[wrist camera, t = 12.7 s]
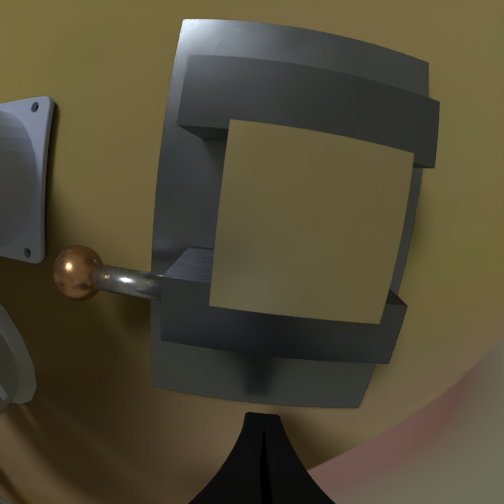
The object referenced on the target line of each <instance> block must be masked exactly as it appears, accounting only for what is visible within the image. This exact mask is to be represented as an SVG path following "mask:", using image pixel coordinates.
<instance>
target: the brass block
mask: <svg viewBox="0 0 504 504" xmlns="http://www.w3.org/2000/svg"><path fill="white" fill-rule="evenodd" d="M413 159H414V153H411V152H407V151H403V150H399V149H396V148H392V147H388V146H384V145H380V144H376V143H371V142H367V141H363V140H358V139H354V138H349V137H344V136H339V135H334V134H329V133H324V132H318V131H313V130H307V129H301V128H294V127H288V126H281V125H274V124H267V123H259V122H250V121H241V120H232V119H230V124H229V131H228V138H227V146H226V154H225V161H224V169H223V178H222V186H221V194H220V203H219V212H218V221H217V230H216V239H215V249H214V259H213V269H212V280H211V290H210V302H209V306H215V307H222V308H229V309H237V310H244V311H252V312H260V313H268V314H277V315H286V316H295V317H304V318H314V319H324V320H335V321H347V322H359V323H372V324H380V320H381V317H382V313H383V310H384V306H385V303H386V299H387V295H388V292H389V288H390V284H391V280H392V276H393V272H394V267H395V263H396V259H397V254H398V250H399V245H400V240H401V235H402V230H403V225H404V219H405V214H406V208H407V202H408V196H409V189H410V183H411V175H412V168H413Z"/></svg>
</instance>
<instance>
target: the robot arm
mask: <svg viewBox="0 0 504 504" xmlns="http://www.w3.org/2000/svg"><path fill="white" fill-rule="evenodd" d="M38 104H39V107H38V110H37V111H36V107H37V105H38ZM53 109H54V101H53V99H52V98H51V97H47V96H42V97H35V98H29V99H23V100H18V101H12V102H7V103H2V104H0V256H3V257H7V258H11V259H16V260H20V261H25V262H29V263H34V264H38V263H40V262H42V261H43V260H44V258H45V226H44V215H45V183H46V168H47V156H48V146H49V137H50V130H51V122H52V116H53ZM28 248H29V250H30V252H31V255H30V254H29V252H28ZM188 504H335V503H334V502H333V501H332V500H331V499H330V498H329V497H328V496H327V495H326V494H325V493H324V492H323V491H322V490H321V489H320V487H319V486H318V485H317V484H316V483H315V481H314V480H313V479H312V478H311V476H310V475H309V474H308V472H307V471H306V469H305V468H304V466H303V465H302V463H301V462H300V460H299V458H298V457H297V455H296V453H295V451H294V449H293V447H292V446H291V444H290V442H289V439H288V437H287V435H286V433H285V430H284V428H283V425H282V423H281V420H280V417H279V416H278V415H273V414H263V413H254V412H247V413H245V418H244V423H243V427H242V430H241V433H240V435H239V437H238V439H237V441H236V444H235V446H234V447H233V449H232V451H231V453H230V454H229V456H228V458H227V459H226V461H225V462H224V464H223V465H222V467H221V468H220V470H219V471H218V472H217V474H216V475H215V476H214V477H213V479H212V480H211V481H210V482H209V483H208V484H207V486H206V487H205V488H204V489H203V490H202V491H201V492H200V493H199V494H198V495H197V496H196V497H195V498H194V499H193V500H192V501H191V502H189V503H188Z"/></svg>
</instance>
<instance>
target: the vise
mask: <svg viewBox="0 0 504 504" xmlns="http://www.w3.org/2000/svg"><path fill="white" fill-rule="evenodd" d="M428 85H429V63H428V62H425V61H423V60H420V59H417V58H414V57H412V56H409V55H406V54H403V53H400V52H397V51H394V50H391V49H388V48H384V47H381V46H378V45H374V44H371V43H367V42H363V41H360V40H356V39H352V38H348V37H343V36H339V35H335V34H330V33H325V32H320V31H315V30H309V29H304V28H298V27H291V26H284V25H276V24H268V23H259V22H247V21H233V20H205V19H187V20H183V24H182V29H181V33H180V37H179V42H178V47H177V52H176V56H175V61H174V67H173V72H172V77H171V83H170V89H169V94H168V100H167V107H166V113H165V120H164V127H163V134H162V142H161V150H160V158H159V167H158V176H157V187H156V198H155V210H154V224H153V240H152V261H151V273H158V274H165V272H166V271H167V270H168V269H169V268H170V267H171V266H172V265H173V264H174V263H175V262H176V261H177V260H178V258H179V257H180V256H181V255H182V254H183V253H184V252H185V251H186V250H187V249H188V248H189V247H193V248H201V249H208V250H214V249H215V239H216V230H217V221H218V212H219V203H220V194H221V186H222V178H223V169H224V161H225V154H226V146H227V138H228V131H229V124H230V119H232V120H241V121H250V122H259V123H267V124H274V125H281V126H288V127H294V128H301V129H307V130H313V131H318V132H324V133H329V134H334V135H339V136H344V137H349V138H354V139H358V140H363V141H367V142H371V143H376V144H380V145H384V146H388V147H392V148H396V149H399V150H403V151H407V152H411V153H414V159H413V168H412V175H411V183H410V189H409V196H408V202H407V208H406V214H405V219H404V225H403V230H402V235H401V240H400V245H399V250H398V254H397V259H396V263H395V267H394V272H393V276H392V280H391V284H390V289H391V290H392V291H393V292H394V293H395V294H396V295H397V294H398V290H399V287H400V283H401V279H402V275H403V271H404V267H405V262H406V258H407V254H408V249H409V244H410V240H411V235H412V230H413V225H414V219H415V214H416V208H417V202H418V196H419V189H420V182H421V175H422V168H435V160H436V150H437V139H438V125H439V107H440V102H439V101H436V100H433V99H431V98H428ZM150 335H151V371H152V386H153V387H157V388H162V389H167V390H172V391H177V392H182V393H188V394H194V395H200V396H206V397H212V398H219V399H226V400H234V401H242V402H251V403H261V404H271V405H284V406H299V407H321V408H359V406H360V403H361V401H362V399H363V396H364V394H365V391H366V388H367V386H368V383H369V381H370V378H371V375H372V373H373V370H374V367H375V364H376V363H350V362H331V361H316V360H303V359H291V358H280V357H271V356H261V355H253V354H245V353H237V352H229V351H222V350H215V349H208V348H202V347H196V346H190V345H184V344H178V343H172V342H167V341H162V340H161V302H160V301H154V300H150Z"/></svg>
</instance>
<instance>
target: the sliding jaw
mask: <svg viewBox="0 0 504 504" xmlns="http://www.w3.org/2000/svg"><path fill="white" fill-rule="evenodd" d="M213 259H214V250H208V249H201V248H193V247H189V248H188V249H187V250H186V251H185V252H184V253H183V254H182V255H181V256H180V257H179V258H178V260H177V261H176V262H175V263H174V264H173V265H172V266H171V267H170V268H169V269H168V270H167V271H166V272H165V274H158V273H151V272H145V271H139V270H132V269H126V268H120V267H114V266H108V265H103V262H102V260H101V258H100V257H99V255H98V254H97V253H96V252H95V251H94V250H92V249H91V248H89V247H87V246H83V245H74V246H70V247H68V248H66V249H64V250H63V251H62V252H61V253H60V254H59V255H58V257H57V258H56V260H55V263H54V266H53V279H54V283H55V285H56V287H57V289H58V290H59V291H60V293H61V294H62V295H63V296H65V297H66V298H68V299H70V300H74V301H85V300H88V299H90V298H92V297H94V296H95V295H96V294H97V293H98V292H99V290H101V291H106V292H111V293H116V294H121V295H126V296H132V297H137V298H143V299H148V300H154V301H160V302H161V340H162V341H167V342H172V343H178V344H184V345H190V346H196V347H202V348H208V349H215V350H222V351H229V352H237V353H245V354H253V355H261V356H271V357H280V358H291V359H303V360H316V361H331V362H350V363H380V364H389V361H390V359H391V356H392V353H393V350H394V347H395V344H396V342H397V339H398V336H399V333H400V330H401V326H402V323H403V320H404V317H405V314H406V310H407V307H408V306H407V305H406V304H405V303H404V302H403V301H402V300H401V299H400V298H399V297H398V296H397V295H396V294H395V293H394V292H393V291H392V290H391V289H390V288H389V292H388V295H387V299H386V303H385V306H384V310H383V313H382V317H381V320H380V324H372V323H359V322H347V321H335V320H324V319H314V318H304V317H295V316H286V315H277V314H268V313H260V312H252V311H244V310H237V309H229V308H222V307H215V306H209V302H210V290H211V280H212V269H213Z"/></svg>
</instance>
